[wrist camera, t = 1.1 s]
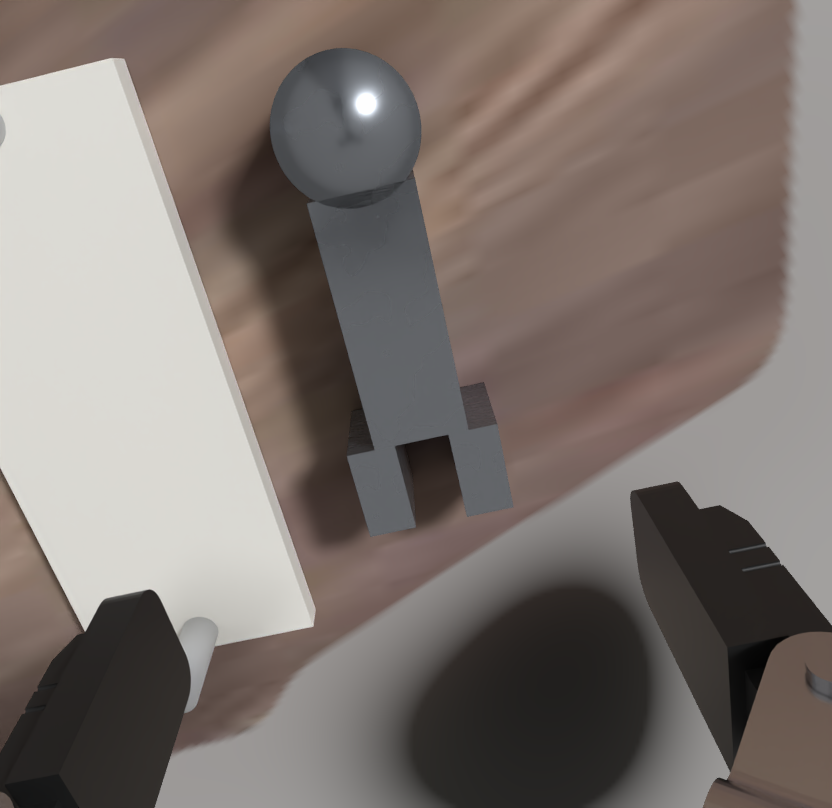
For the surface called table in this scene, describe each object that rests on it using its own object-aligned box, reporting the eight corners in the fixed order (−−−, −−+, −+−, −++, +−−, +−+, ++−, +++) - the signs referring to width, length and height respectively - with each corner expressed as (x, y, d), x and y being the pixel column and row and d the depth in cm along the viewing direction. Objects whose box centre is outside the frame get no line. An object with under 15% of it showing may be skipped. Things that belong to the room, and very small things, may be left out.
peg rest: (-151, 127, 26) (-274, 138, 21) (124, 59, 25) (62, 54, 20) (113, 649, 35) (70, 739, 30) (315, 609, 35) (304, 693, 30)
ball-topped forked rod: (256, 73, 25) (233, 72, 22) (414, 34, 25) (419, 27, 21) (372, 484, 32) (370, 536, 28) (498, 457, 32) (513, 507, 28)
